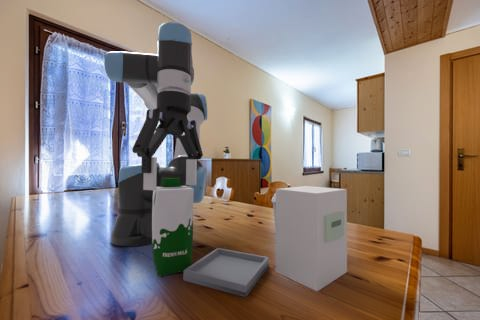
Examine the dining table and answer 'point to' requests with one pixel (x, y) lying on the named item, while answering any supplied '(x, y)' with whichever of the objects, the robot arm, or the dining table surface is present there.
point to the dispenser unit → (311, 234)
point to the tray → (227, 271)
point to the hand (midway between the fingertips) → (172, 187)
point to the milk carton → (172, 227)
